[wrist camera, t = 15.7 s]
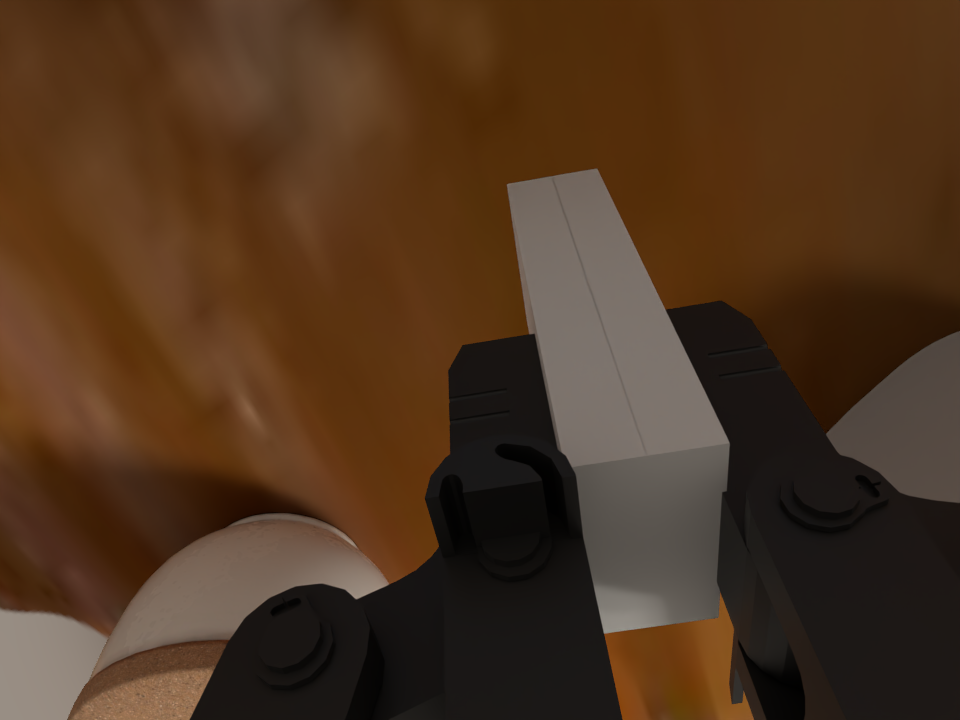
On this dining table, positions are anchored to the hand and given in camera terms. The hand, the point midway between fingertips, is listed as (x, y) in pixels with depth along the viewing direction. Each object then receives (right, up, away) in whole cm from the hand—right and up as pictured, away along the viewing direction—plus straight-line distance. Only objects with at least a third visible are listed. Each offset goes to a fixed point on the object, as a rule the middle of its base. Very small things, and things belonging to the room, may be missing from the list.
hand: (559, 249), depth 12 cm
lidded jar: (-9, -10, +17) cm, 21 cm away
